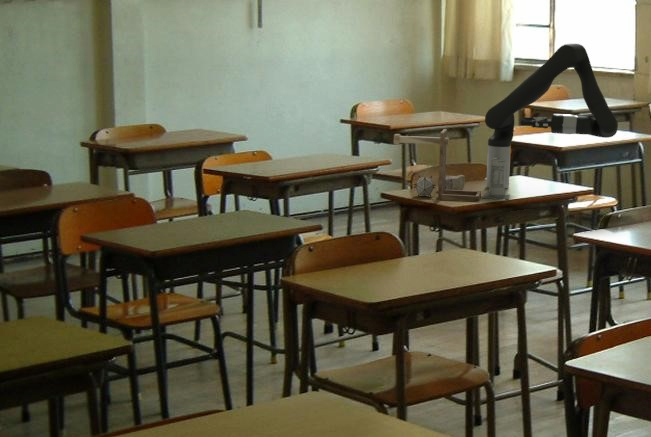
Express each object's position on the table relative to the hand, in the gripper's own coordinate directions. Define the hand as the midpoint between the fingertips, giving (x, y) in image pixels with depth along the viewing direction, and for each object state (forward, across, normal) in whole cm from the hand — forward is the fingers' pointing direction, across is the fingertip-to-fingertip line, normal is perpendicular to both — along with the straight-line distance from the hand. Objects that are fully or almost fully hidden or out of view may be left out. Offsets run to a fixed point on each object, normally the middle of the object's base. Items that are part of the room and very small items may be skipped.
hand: (521, 121), depth 472 cm
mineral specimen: (+28, -11, +31) cm, 43 cm away
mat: (+8, 0, +30) cm, 31 cm away
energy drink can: (+8, 0, +30) cm, 31 cm away
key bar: (+38, +7, +11) cm, 40 cm away
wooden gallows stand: (+21, +7, +31) cm, 37 cm away
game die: (+35, +7, +31) cm, 48 cm away
